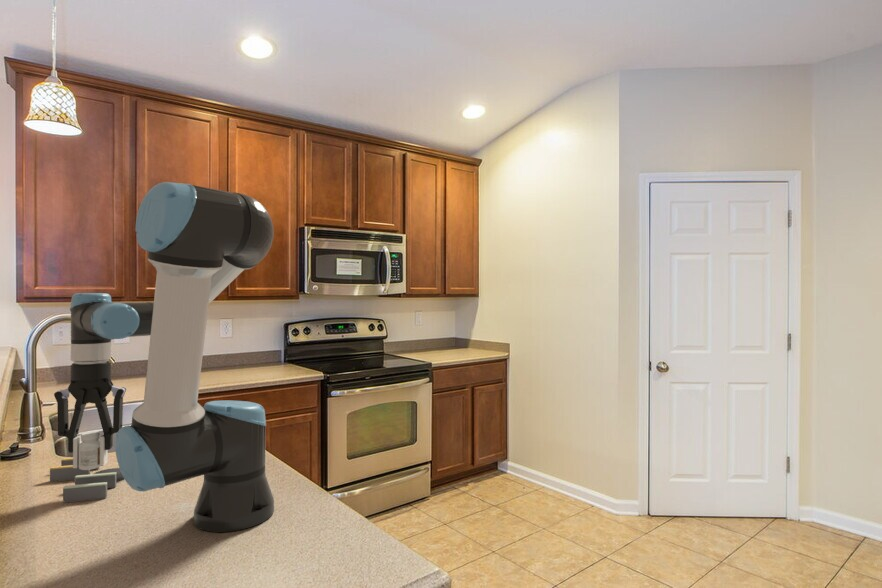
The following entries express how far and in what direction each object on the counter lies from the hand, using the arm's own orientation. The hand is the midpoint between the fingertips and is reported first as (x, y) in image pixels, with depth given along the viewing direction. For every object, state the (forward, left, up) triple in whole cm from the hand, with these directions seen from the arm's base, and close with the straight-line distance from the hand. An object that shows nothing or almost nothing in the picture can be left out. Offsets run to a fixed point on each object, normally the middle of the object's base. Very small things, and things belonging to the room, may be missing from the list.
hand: (90, 464), depth 115 cm
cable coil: (+9, -1, -7) cm, 11 cm away
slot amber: (+15, +8, -7) cm, 18 cm away
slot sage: (0, 0, -7) cm, 7 cm away
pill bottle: (0, 0, -1) cm, 1 cm away
